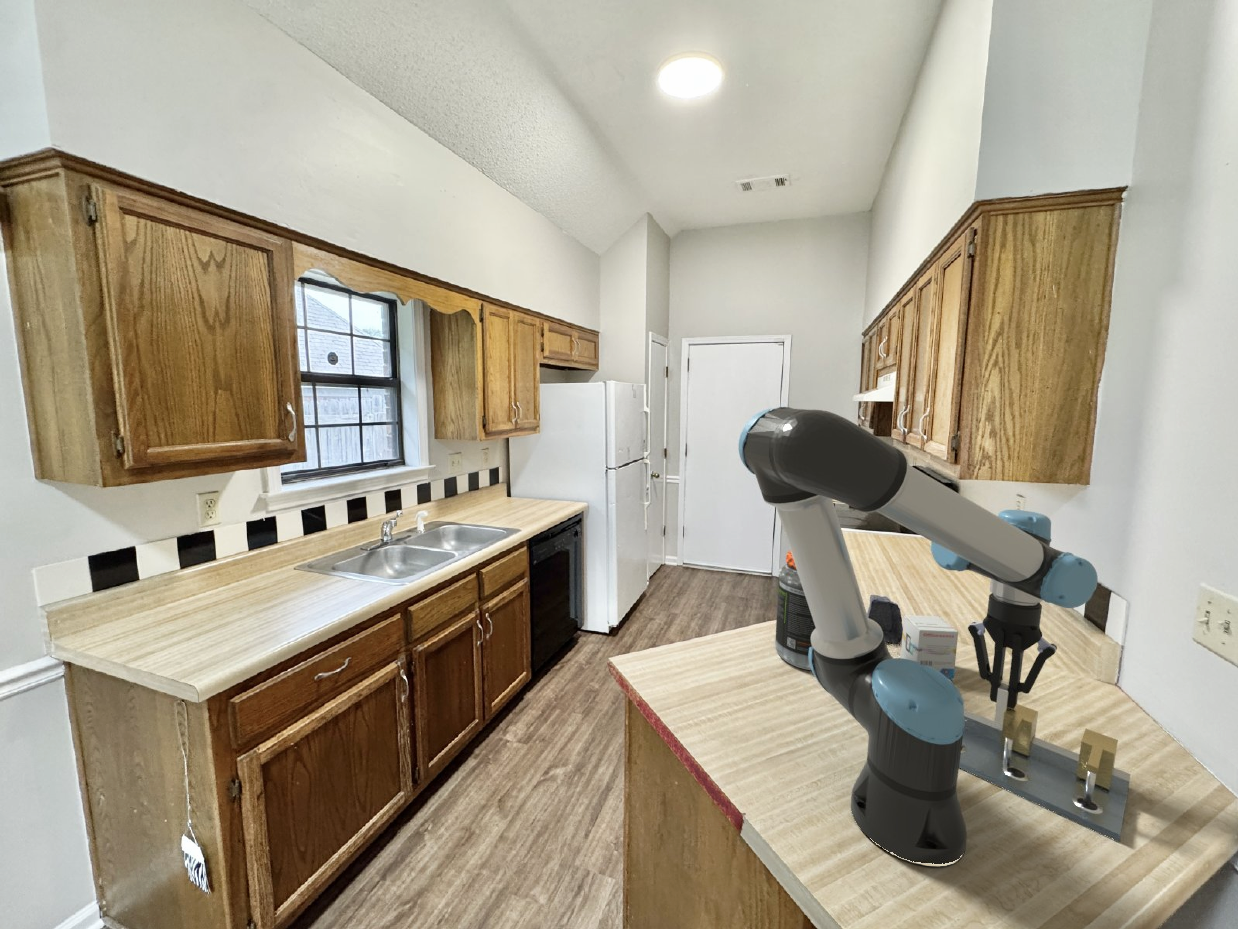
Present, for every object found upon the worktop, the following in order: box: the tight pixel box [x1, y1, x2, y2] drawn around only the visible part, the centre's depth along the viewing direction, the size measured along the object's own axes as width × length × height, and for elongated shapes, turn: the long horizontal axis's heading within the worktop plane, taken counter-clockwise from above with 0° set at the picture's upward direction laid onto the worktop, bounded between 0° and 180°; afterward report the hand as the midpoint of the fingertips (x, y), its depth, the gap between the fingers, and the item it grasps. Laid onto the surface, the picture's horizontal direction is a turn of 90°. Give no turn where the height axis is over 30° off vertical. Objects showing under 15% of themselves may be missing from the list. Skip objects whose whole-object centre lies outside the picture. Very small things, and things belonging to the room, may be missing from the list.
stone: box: [866, 594, 903, 645], centre depth 139 cm, size 12×10×10 cm
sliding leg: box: [1001, 703, 1039, 768], centre depth 91 cm, size 12×4×6 cm, turn 132°
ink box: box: [900, 614, 959, 680], centre depth 122 cm, size 9×8×12 cm
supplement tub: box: [774, 550, 816, 671], centre depth 126 cm, size 16×16×26 cm
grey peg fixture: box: [959, 709, 1131, 843], centre depth 90 cm, size 16×26×8 cm, turn 42°
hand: (1001, 720), depth 95 cm, fingers closed
